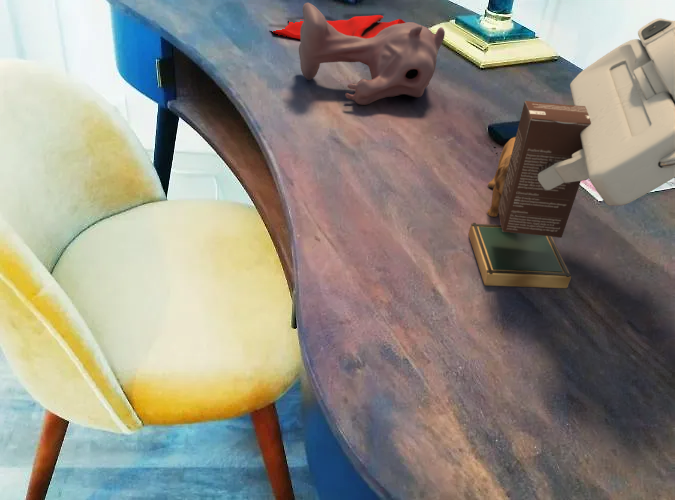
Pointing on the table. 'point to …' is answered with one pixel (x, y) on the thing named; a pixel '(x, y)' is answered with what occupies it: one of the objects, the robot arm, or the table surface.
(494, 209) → the lion figurine
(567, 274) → the green gold display base
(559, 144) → the box
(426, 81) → the dragon head
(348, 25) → the cloth
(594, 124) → the robot arm
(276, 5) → the table surface
